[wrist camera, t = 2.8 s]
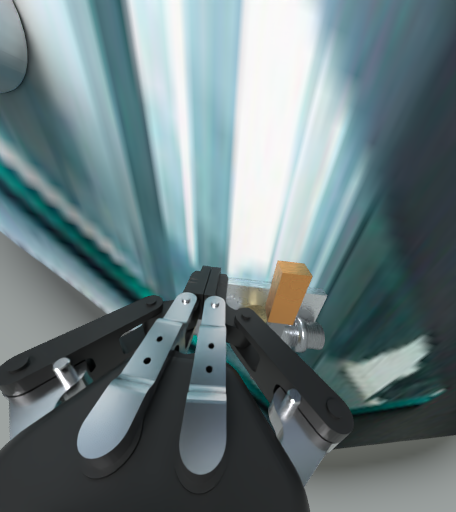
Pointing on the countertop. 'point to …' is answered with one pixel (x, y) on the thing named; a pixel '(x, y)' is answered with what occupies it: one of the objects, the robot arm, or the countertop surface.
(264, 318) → the valve manifold
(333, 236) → the countertop surface
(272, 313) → the valve lever
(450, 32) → the countertop surface
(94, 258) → the countertop surface
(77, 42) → the countertop surface
